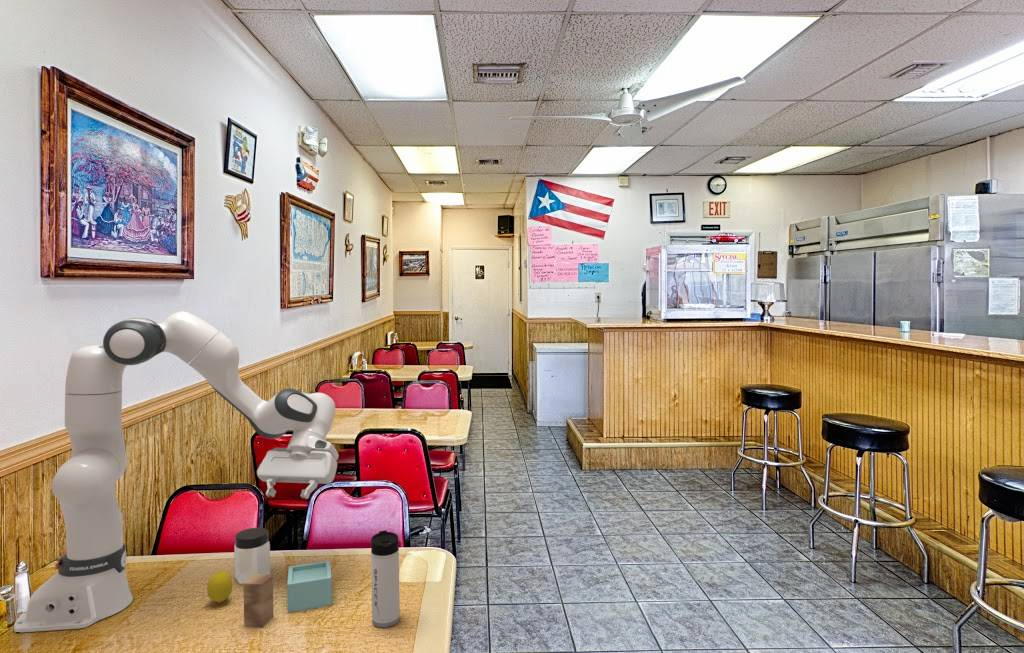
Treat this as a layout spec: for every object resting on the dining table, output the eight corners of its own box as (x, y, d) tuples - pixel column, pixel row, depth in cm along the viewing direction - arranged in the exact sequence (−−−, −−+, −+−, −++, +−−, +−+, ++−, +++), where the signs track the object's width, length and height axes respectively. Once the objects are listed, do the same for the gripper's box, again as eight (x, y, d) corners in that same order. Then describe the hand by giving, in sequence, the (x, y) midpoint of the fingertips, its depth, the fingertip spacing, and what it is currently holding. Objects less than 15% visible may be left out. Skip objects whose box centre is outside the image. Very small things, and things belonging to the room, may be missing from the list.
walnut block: (244, 626, 130) (243, 583, 130) (256, 615, 135) (255, 573, 134) (262, 627, 130) (261, 584, 129) (273, 616, 134) (272, 575, 134)
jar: (273, 578, 153) (272, 534, 152) (241, 588, 148) (240, 542, 147) (263, 566, 160) (262, 524, 159) (232, 575, 155) (231, 532, 154)
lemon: (205, 610, 137) (204, 577, 137) (210, 598, 142) (209, 567, 142) (230, 606, 139) (229, 574, 138) (234, 595, 144) (234, 564, 144)
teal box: (287, 613, 136) (287, 584, 136) (289, 593, 145) (288, 566, 145) (331, 605, 139) (331, 577, 139) (330, 586, 149) (329, 560, 148)
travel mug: (397, 610, 137) (395, 528, 136) (401, 624, 130) (400, 539, 130) (370, 615, 134) (369, 532, 133) (374, 630, 128) (372, 543, 127)
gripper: (264, 441, 152) (243, 489, 143) (336, 443, 149) (319, 492, 140) (274, 453, 157) (254, 500, 148) (344, 455, 154) (328, 504, 145)
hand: (286, 496), depth 144 cm, fingers open, 8 cm apart
